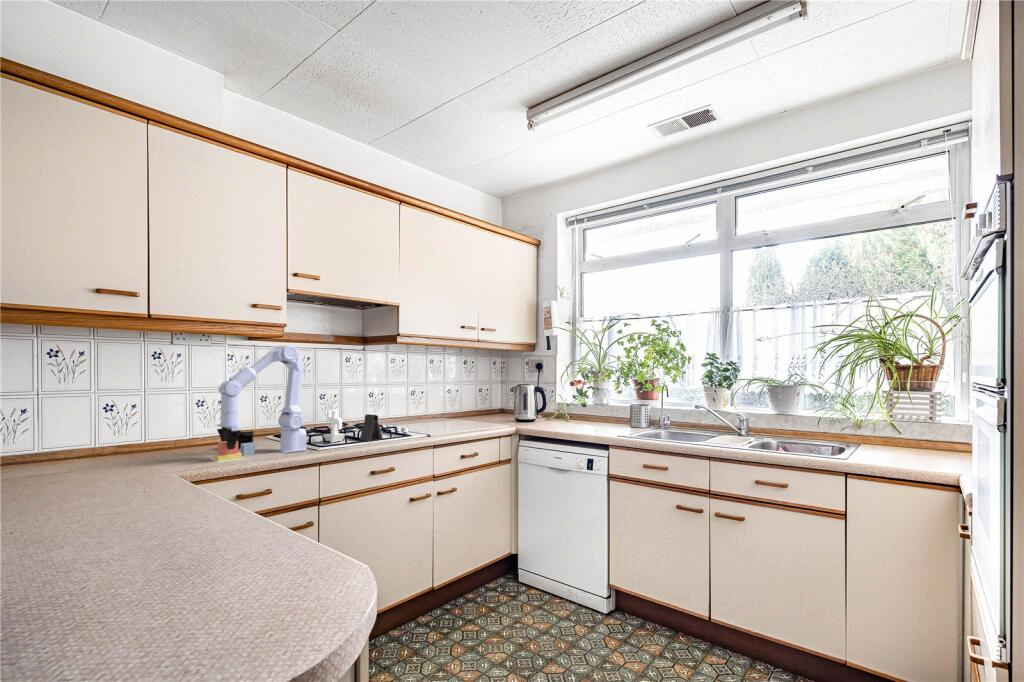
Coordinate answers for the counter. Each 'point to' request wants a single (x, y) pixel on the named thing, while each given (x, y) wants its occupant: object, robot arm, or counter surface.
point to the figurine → (334, 426)
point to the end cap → (244, 438)
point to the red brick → (224, 450)
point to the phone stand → (371, 429)
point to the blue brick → (248, 448)
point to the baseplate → (226, 460)
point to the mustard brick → (227, 457)
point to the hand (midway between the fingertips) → (228, 448)
